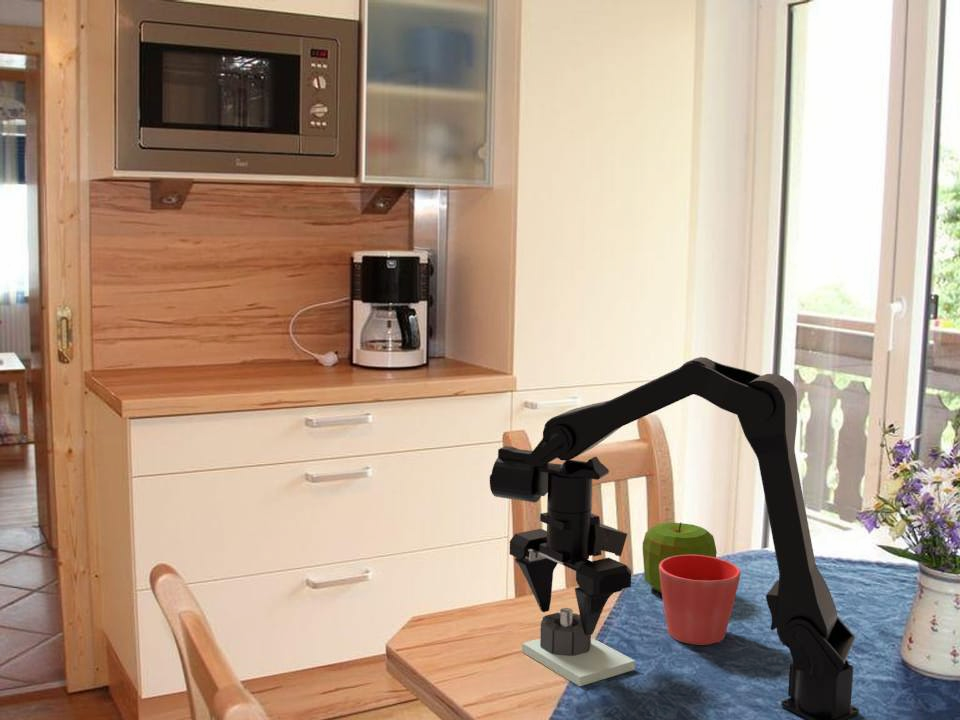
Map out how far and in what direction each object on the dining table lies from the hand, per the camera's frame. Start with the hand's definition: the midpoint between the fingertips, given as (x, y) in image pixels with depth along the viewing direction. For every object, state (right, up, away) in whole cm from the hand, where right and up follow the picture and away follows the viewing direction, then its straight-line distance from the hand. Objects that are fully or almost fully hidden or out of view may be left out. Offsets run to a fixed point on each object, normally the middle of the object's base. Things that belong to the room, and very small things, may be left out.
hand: (566, 622), depth 139 cm
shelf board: (+1, -5, -1) cm, 5 cm away
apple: (+19, -1, +25) cm, 31 cm away
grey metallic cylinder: (0, -4, +1) cm, 4 cm away
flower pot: (+19, -4, +8) cm, 20 cm away
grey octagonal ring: (0, -3, 0) cm, 3 cm away
